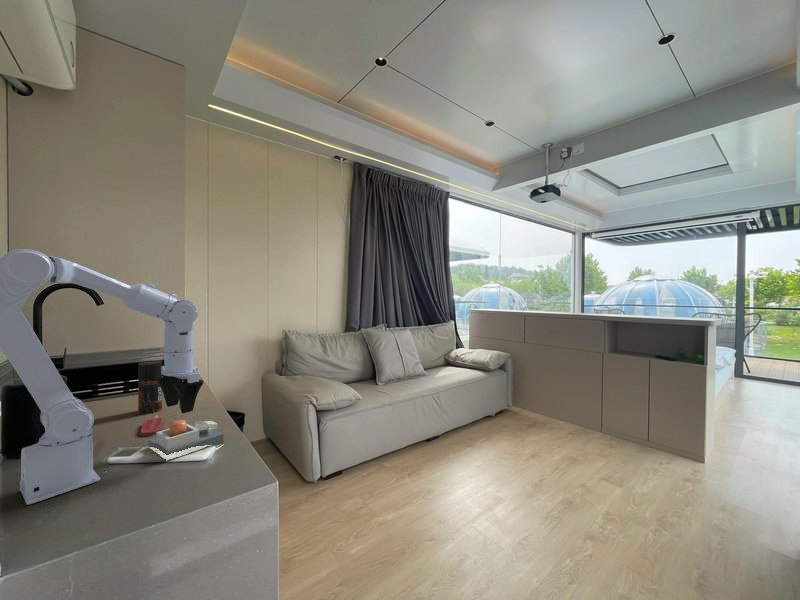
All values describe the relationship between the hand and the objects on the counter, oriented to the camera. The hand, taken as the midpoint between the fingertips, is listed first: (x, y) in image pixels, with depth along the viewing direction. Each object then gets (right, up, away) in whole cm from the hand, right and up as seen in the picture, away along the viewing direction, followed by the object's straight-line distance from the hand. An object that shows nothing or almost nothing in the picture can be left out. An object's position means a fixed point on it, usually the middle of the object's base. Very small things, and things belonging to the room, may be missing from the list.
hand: (179, 408), depth 77 cm
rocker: (+3, -6, +5) cm, 8 cm away
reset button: (0, -6, -1) cm, 6 cm away
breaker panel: (+1, -9, +2) cm, 10 cm away
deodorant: (-26, -9, +25) cm, 38 cm away
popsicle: (-16, -10, +13) cm, 23 cm away
